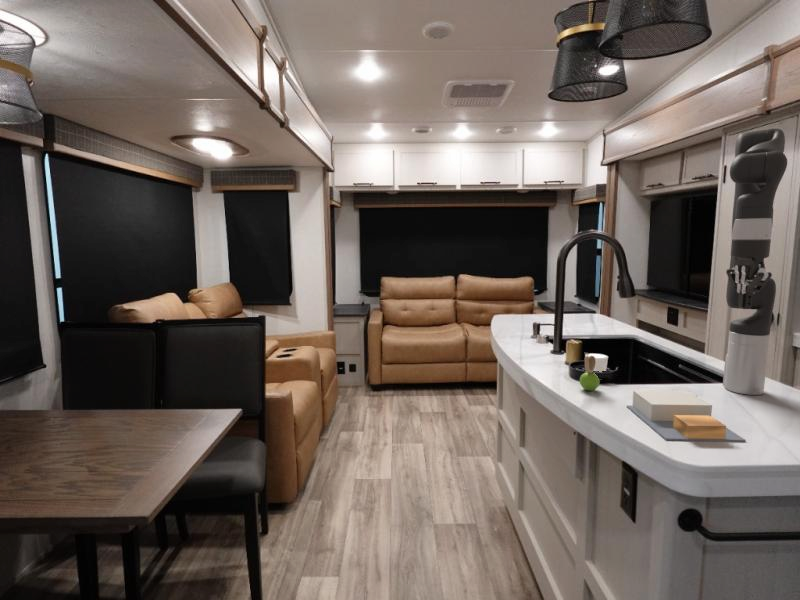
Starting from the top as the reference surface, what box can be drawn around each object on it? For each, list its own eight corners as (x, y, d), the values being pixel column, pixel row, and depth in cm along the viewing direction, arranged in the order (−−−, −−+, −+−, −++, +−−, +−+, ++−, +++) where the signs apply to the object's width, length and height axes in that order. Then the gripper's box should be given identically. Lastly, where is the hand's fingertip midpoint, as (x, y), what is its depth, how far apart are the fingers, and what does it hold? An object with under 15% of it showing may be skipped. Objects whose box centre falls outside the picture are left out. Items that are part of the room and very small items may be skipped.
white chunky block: (580, 373, 150) (581, 353, 149) (600, 373, 150) (601, 352, 149) (590, 380, 143) (591, 358, 142) (611, 379, 143) (612, 357, 142)
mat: (626, 406, 120) (626, 405, 120) (693, 407, 119) (693, 406, 119) (665, 440, 100) (665, 438, 100) (745, 441, 99) (745, 440, 99)
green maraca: (574, 391, 133) (576, 351, 131) (583, 385, 137) (585, 347, 136) (593, 395, 129) (595, 354, 127) (601, 389, 134) (603, 350, 132)
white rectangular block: (632, 407, 120) (633, 390, 119) (687, 407, 119) (688, 391, 118) (650, 422, 110) (651, 404, 109) (710, 423, 109) (712, 405, 108)
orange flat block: (688, 425, 99) (687, 438, 100) (726, 426, 99) (725, 439, 99) (673, 415, 105) (672, 427, 106) (709, 415, 105) (708, 427, 105)
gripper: (788, 237, 102) (781, 313, 105) (748, 237, 115) (742, 304, 118) (754, 238, 103) (747, 312, 105) (717, 238, 116) (712, 304, 118)
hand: (744, 308), depth 112 cm, fingers closed
